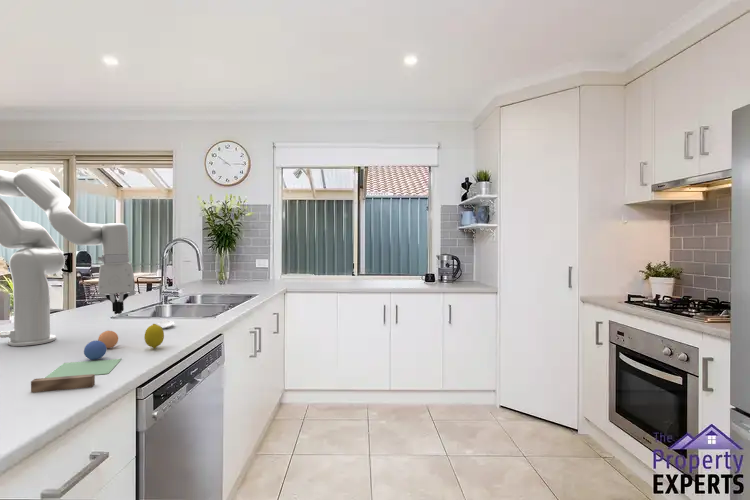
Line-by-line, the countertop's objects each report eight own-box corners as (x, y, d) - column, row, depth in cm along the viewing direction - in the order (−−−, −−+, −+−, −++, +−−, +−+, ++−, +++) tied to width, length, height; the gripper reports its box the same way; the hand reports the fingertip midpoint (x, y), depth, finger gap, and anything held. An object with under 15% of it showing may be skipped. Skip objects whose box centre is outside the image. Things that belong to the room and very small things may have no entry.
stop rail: (31, 392, 98) (30, 381, 97) (34, 389, 99) (34, 378, 99) (92, 387, 101) (92, 376, 101) (94, 384, 103) (94, 374, 103)
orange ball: (95, 350, 134) (95, 333, 134) (100, 346, 139) (100, 329, 139) (116, 349, 136) (115, 332, 135) (120, 345, 141) (120, 328, 141)
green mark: (43, 379, 107) (43, 378, 107) (64, 363, 120) (64, 362, 120) (108, 374, 111) (108, 373, 111) (121, 359, 124) (121, 358, 124)
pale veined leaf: (175, 323, 177) (175, 317, 176) (173, 331, 166) (173, 324, 165) (154, 325, 174) (153, 319, 174) (150, 334, 163) (150, 327, 162)
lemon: (155, 351, 134) (155, 325, 134) (140, 350, 135) (140, 325, 135) (167, 347, 139) (167, 322, 139) (152, 346, 140) (152, 321, 140)
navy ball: (81, 363, 121) (81, 343, 120) (87, 357, 126) (87, 339, 126) (103, 361, 122) (103, 342, 122) (108, 356, 128) (108, 338, 127)
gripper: (87, 261, 140) (89, 317, 140) (138, 259, 145) (140, 313, 145) (94, 260, 147) (96, 313, 147) (142, 258, 152) (144, 310, 152)
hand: (118, 313), depth 146 cm, fingers closed
